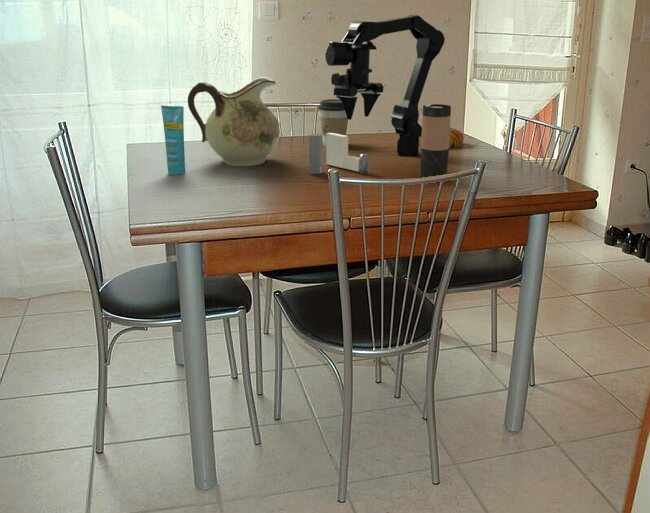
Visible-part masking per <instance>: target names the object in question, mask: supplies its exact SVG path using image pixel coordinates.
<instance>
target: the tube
mask: <svg viewBox="0 0 650 513" xmlns="http://www.w3.org/2000/svg"><path fill="white" fill-rule="evenodd" d="M160 107H161V108H160V109H161V115H162V123H163V124H162V125H163V132H164V142H165V144H164V145H165V152H166V164H167V174H169V175H171V174H172V175H171V176H179V175H178V174H181V175H184V174H185V173H186V161H185V160H186V158H185V156H186V154H185V130H184V129H185V127H184V124H185V123H184V116H185V115H184V111H185V110H184V106H183V105H181V106H179V105H162V104H161V105H160Z"/></svg>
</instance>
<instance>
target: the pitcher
mask: <svg viewBox="0 0 650 513" xmlns="http://www.w3.org/2000/svg"><path fill="white" fill-rule="evenodd" d="M276 84H277V83H276V81H275V80H274V79H272V78H270V77H267V76H264V77H263V76H262V77H258V78H255V79H253V80H251V82H249V83H247V84H246V85H245V86H243V87H242V88H239V89H238V90H236V91H234V92H231V93H227V92H223V91H222V90H218V88H216V87H215V86H214V85H213V84H210V83H207V82H205V81H199V82H198V83H197V84H195V85H194V86H193V87H192V88H191V89H190V91H189V93H188V95H187V106H188V109H189V112H190V113H191V115H192V116H193V118H194V119H195V121H196V123H197V124H198V127H199V128H200V132H201V135H202V138H201V139H202V140H201V142H202V143H205V142H208V145H209V147H211V150H213V152H214V153H215V154H217V155H218V156H219V157H220V158H221V159H222V160H223V163H224V164H225V165H228V166H232V167H254V166H260V165H262V164H265V161H266V158H267V157H268V155H270V153H272V151H273V150H274V149H275V147H276V145H277V143H278V142H279V139H280V134H281V128H280V122H279V120H278V118H277V117H276V115H275V113H273V111H272V110H271V109H270V108H269V107H268V106H267V105H266V104H265V103H264V102H263V100H262V99H261V93H262V92H263V91H264V89H267V88H268V87H270V86H274V85H276ZM205 92H206V93H207V94H209V95H210V96H211V98H212V100H213V101H214V104H215V108H214V109H213V110H212V111H211V113H210V114H209V115H208V117H207V119H206V122H204V121H203V119H202V117H201V116H200V114H199V112H198V110H197V108H196V105H195V98H196V96H197V95H198V94H199V93H205Z"/></svg>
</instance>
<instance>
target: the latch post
mask: <svg viewBox="0 0 650 513" xmlns="http://www.w3.org/2000/svg"><path fill="white" fill-rule="evenodd" d="M308 143H309V144H308V145H309V146H308V147H309V150H308V152H309V153H308V154H309V155H308V156H309V157H308V158H309V160H308V161H309V163H308V164H309V166H308V167H309V169H308V170H309V174H310V175H321V174H322V173H323V137H322V133H311V134H309V138H308Z"/></svg>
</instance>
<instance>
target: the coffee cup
mask: <svg viewBox="0 0 650 513" xmlns="http://www.w3.org/2000/svg"><path fill="white" fill-rule="evenodd" d="M317 110H318V112H319V113H318V114H319V120H320V129H321V134H322V144H323V146H324V147H326V133H336V134H341V135H346V136H347V132H348V124H349V123H348V122H349V120H348V119H347V115H346V112H345V109H344V105H343V103H342V101H341V100H340V99H339V98H334V99H333V98H330V99H322V100H320V103H319V104H318V105H317Z"/></svg>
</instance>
